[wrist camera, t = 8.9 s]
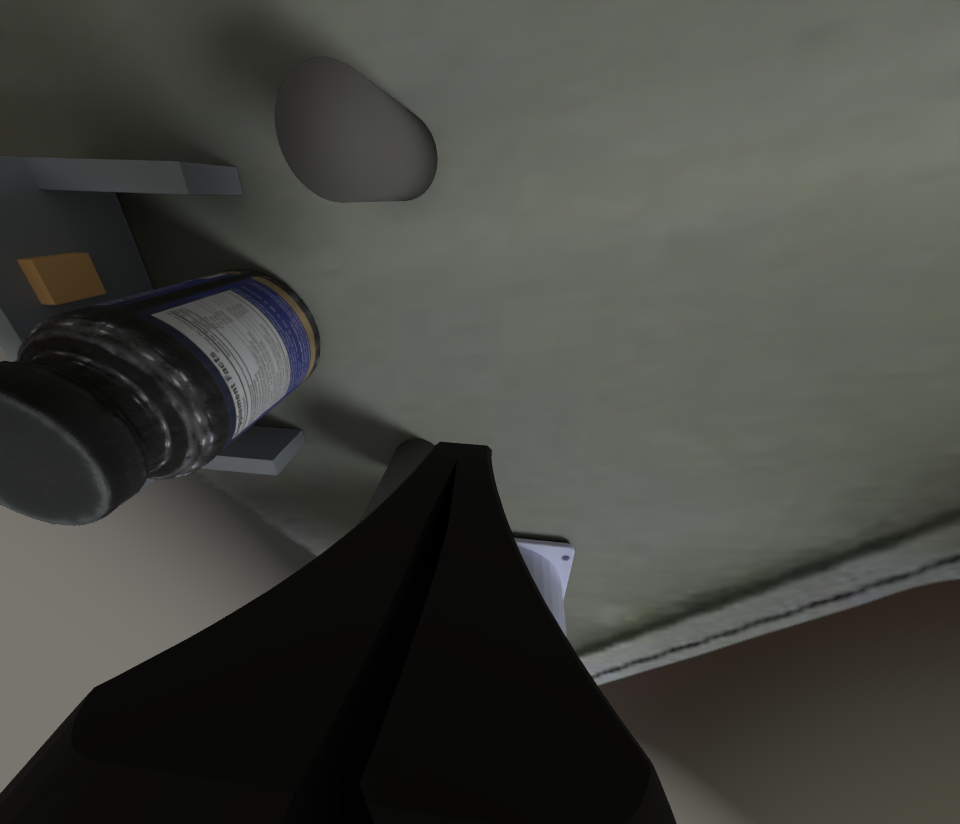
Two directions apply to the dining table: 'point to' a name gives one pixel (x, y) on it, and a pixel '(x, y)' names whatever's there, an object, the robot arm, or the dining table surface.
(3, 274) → the rectangular block
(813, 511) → the dining table surface
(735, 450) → the dining table surface
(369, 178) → the post
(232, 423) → the pill bottle
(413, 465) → the post
